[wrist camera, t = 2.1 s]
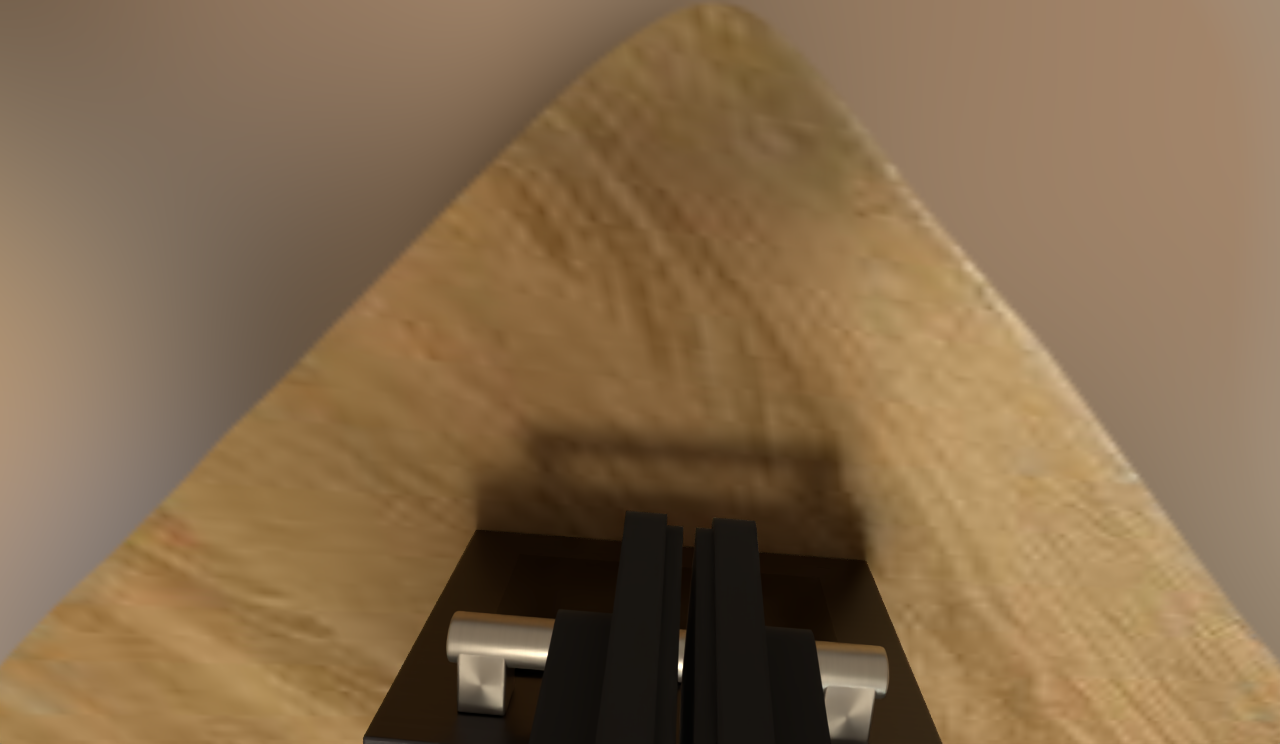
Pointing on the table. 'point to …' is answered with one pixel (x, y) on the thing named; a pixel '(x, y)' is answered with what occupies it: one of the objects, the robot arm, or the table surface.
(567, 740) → the robot arm
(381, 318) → the table surface
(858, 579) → the oven door
